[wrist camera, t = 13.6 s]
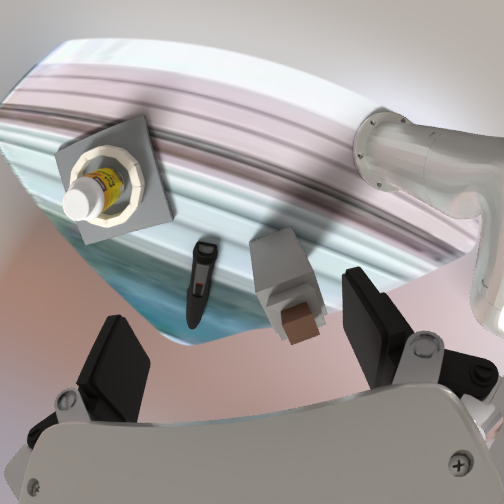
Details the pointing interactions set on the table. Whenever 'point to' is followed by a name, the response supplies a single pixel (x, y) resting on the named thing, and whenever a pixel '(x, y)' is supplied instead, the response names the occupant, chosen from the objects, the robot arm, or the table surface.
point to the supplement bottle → (93, 194)
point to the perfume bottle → (287, 286)
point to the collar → (132, 170)
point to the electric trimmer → (200, 281)
